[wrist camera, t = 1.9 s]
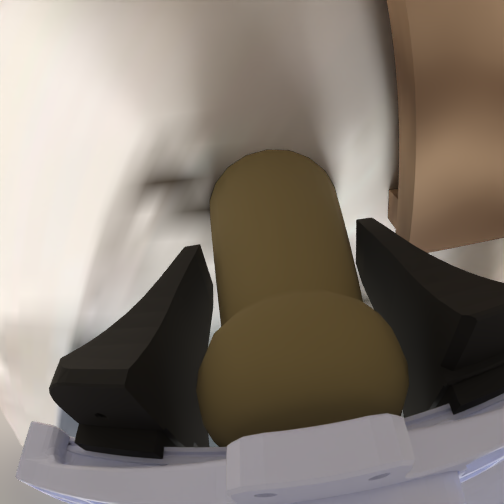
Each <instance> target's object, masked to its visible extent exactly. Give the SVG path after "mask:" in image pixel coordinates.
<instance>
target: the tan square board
mask: <svg viewBox="0 0 504 504" xmlns="http://www.w3.org/2000/svg"><path fill="white" fill-rule="evenodd" d="M387 5H388V11H389V18H390V24H391V31H392V39H393V47H394V56H395V67H396V78H397V93H398V112H399V186H398V189H391V190H389V206H388V219H389V220H390V222H391V223H392V224H393V226H394V227H395V229H396V234H397V235H399V236H401V237H402V238H404V239H405V240H407V241H408V242H410V243H411V244H413V245H415V246H416V247H418V248H420V249H421V250H423V251H425V252H426V253H429V252H434V251H439V250H445V249H450V248H455V247H460V246H465V245H470V244H475V243H480V242H485V241H489V240H494V239H499V238H504V0H387Z"/></svg>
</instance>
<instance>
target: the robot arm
mask: <svg viewBox="0 0 504 504" xmlns="http://www.w3.org/2000/svg"><path fill="white" fill-rule="evenodd" d="M356 265H357V268H358V271H359V275H360V278H361V281H362V284H363V286H364V288H365V291H366V293H367V295H368V297H369V299H370V301H371V304H372V306H373V308H374V310H375V311H376V312H378V313H379V314H380V315H381V316H382V317H383V319H384V320H385V321H386V322H387V323H388V324H389V326H390V327H391V328H392V330H393V332H394V334H395V336H396V338H397V340H398V342H399V344H400V346H401V349H402V351H403V354H404V356H405V358H406V361H407V364H408V375H409V387H408V391H407V395H406V399H405V403H404V406H403V414H404V418H403V417H401V416H398V415H393V414H389V413H385V414H378V415H370V416H365V417H360V418H356V419H351V420H346V421H341V422H336V423H331V424H325V425H319V426H313V427H307V428H300V429H292V430H285V431H276V432H267V433H260V434H255V435H249V436H244V437H241V438H239V439H237V440H235V441H233V442H231V443H230V444H229V445H227V447H209V438H208V432H207V430H206V429H205V427H204V425H203V421H202V417H201V413H200V408H199V403H198V398H197V393H196V387H197V379H198V370H199V368H200V366H201V363H202V361H203V359H204V356H205V354H206V351H207V349H208V342H209V335H210V327H211V320H212V312H213V283H212V280H211V277H210V274H209V271H208V268H207V265H206V262H205V258H204V255H203V252H202V249H201V246H200V244H199V245H193V246H187V247H184V249H183V250H182V251H181V252H180V253H179V255H178V256H177V257H176V258H175V260H174V261H173V262H172V264H171V265H170V266H169V267H168V269H167V270H166V271H165V272H164V274H163V275H162V276H161V277H160V279H159V280H158V281H157V282H156V283H155V284H154V285H153V287H152V288H151V289H150V290H149V291H148V292H147V293H146V295H145V296H144V297H143V298H142V299H141V300H140V301H139V302H138V303H137V304H136V305H135V306H134V307H133V308H132V309H131V310H130V311H129V312H127V313H126V314H125V315H124V316H123V317H122V318H120V319H119V320H118V321H117V322H115V323H114V324H113V325H112V326H111V327H109V328H108V329H107V330H106V331H104V332H103V333H101V334H100V335H99V336H97V337H96V338H94V339H93V340H91V341H90V342H88V343H87V344H85V345H83V346H82V347H80V348H78V349H76V350H75V351H73V352H71V353H69V354H68V355H66V356H64V357H62V358H61V359H60V361H59V364H58V366H57V369H56V371H55V374H54V377H53V379H52V382H51V385H50V387H49V392H50V395H51V397H52V398H53V400H54V401H55V402H56V404H57V405H58V406H59V407H60V408H62V409H63V410H64V411H65V412H66V413H67V414H68V415H69V416H71V417H72V418H73V419H74V420H75V421H76V422H78V423H79V426H78V430H77V434H76V438H75V437H69V435H68V434H67V433H66V432H64V431H63V430H62V429H60V428H58V427H56V426H54V425H50V424H45V423H40V422H35V421H32V422H31V424H30V427H29V431H28V434H27V437H26V440H25V444H24V447H23V450H22V454H21V458H20V461H19V465H18V469H17V473H16V478H17V479H18V480H20V481H22V482H24V483H25V484H27V485H29V486H31V487H33V488H35V489H37V490H39V491H41V492H43V493H45V494H47V495H49V496H51V497H53V498H56V499H58V500H60V501H63V502H67V503H69V504H504V283H501V282H497V281H494V280H490V279H487V278H484V277H480V276H478V275H475V274H472V273H469V272H467V271H464V270H462V269H459V268H457V267H454V266H452V265H450V264H448V263H446V262H444V261H442V260H440V259H438V258H436V257H434V256H432V255H430V254H428V253H426V252H425V251H423V250H421V249H420V248H418V247H416V246H415V245H413V244H411V243H410V242H408V241H407V240H405V239H404V238H402V237H401V236H399V235H397V234H396V233H394V232H393V231H392V230H390V229H389V228H387V227H386V226H384V225H383V224H381V223H379V222H378V221H376V220H375V219H373V218H365V219H358V220H356Z"/></svg>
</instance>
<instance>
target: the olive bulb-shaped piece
mask: <svg viewBox="0 0 504 504" xmlns="http://www.w3.org/2000/svg"><path fill="white" fill-rule="evenodd" d="M210 220H211V232H212V243H213V253H214V263H215V273H216V283H217V292H218V302H219V311H220V319H221V328H220V329H219V330H218V331H216V332H215V333H214V335H213V337H212V340H211V342H210V344H209V347H208V349H207V351H206V354H205V356H204V359H203V361H202V363H201V366H200V368H199V370H198V379H197V387H196V393H197V398H198V403H199V408H200V413H201V417H202V421H203V425H204V427H205V429H206V430H207V432H208V433H209V435H210V436H211V438H212V440H213V441H214V442H215V443H216V444H217V445H218V446H219V447H227V445H229V444H230V443H231V442H233V441H235V440H237V439H239V438H241V437H244V436H249V435H255V434H260V433H267V432H276V431H285V430H292V429H300V428H307V427H313V426H319V425H325V424H331V423H336V422H341V421H346V420H351V419H356V418H360V417H365V416H370V415H378V414H385V413H389V414H393V415H398V416H401V413H402V410H403V406H404V403H405V399H406V395H407V391H408V387H409V375H408V364H407V361H406V358H405V356H404V354H403V351H402V349H401V346H400V344H399V342H398V340H397V338H396V336H395V334H394V332H393V330H392V328H391V327H390V326H389V324H388V323H387V322H386V321H385V320H384V319H383V317H382V316H381V315H380V314H379V313H378V312H376V311H375V310H374V309H372V308H371V307H369V306H368V305H366V304H365V303H363V300H362V295H361V290H360V286H359V281H358V277H357V272H356V268H355V264H354V259H353V255H352V251H351V247H350V243H349V239H348V235H347V231H346V227H345V223H344V220H343V216H342V212H341V209H340V205H339V201H338V198H337V194H336V191H335V188H334V185H333V184H332V182H331V180H330V179H329V177H328V175H327V174H326V172H325V170H323V169H322V168H321V167H320V166H319V165H317V164H316V163H315V162H314V161H313V160H311V159H310V158H308V157H306V156H303V155H300V154H298V153H295V152H292V151H290V150H264V151H260V152H257V153H253V154H250V155H246V156H245V157H243V158H242V159H240V160H238V161H237V162H235V163H234V164H232V165H231V166H229V167H228V168H227V169H226V171H225V172H224V173H223V175H222V176H221V177H220V178H219V180H218V181H217V182H216V184H215V187H214V190H213V193H212V196H211V199H210Z"/></svg>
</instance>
